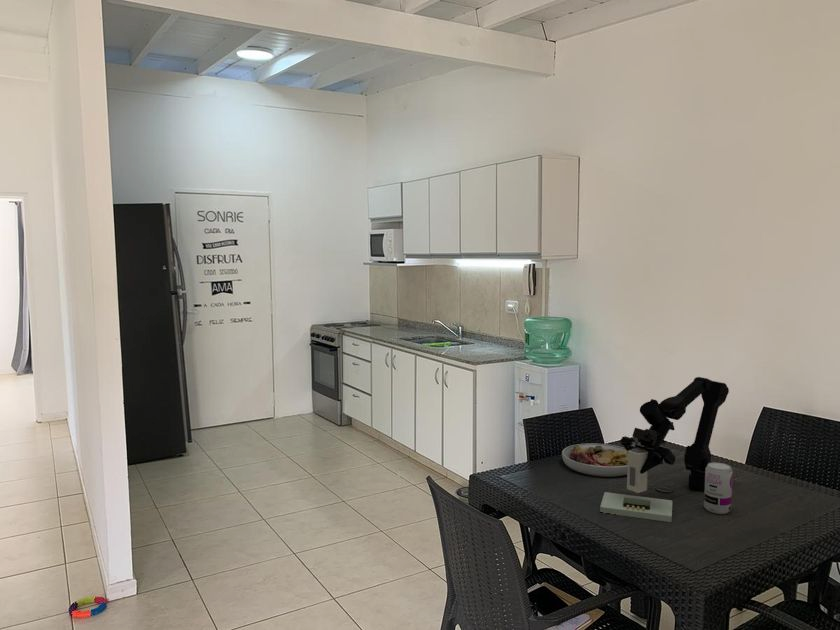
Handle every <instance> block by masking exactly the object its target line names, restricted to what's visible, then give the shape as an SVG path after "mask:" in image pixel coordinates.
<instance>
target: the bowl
mask: <svg viewBox="0 0 840 630" xmlns="http://www.w3.org/2000/svg"><path fill="white" fill-rule="evenodd" d="M561 457H562V460H563V463H564V464H565V465H566V466H567V467H568V468H569V469H571V470H573V471H575V472H577V473H581V474H584V475H587V476H592V477H593V476H594V477H603V478H604V477H605V478H612V477H613V478H615V477H623V476H627V469H628V451H627V450H626V449H625V448H624V447H623V446H619V445H614V444H607V443H593V442H591V443H579V444H572V445H569V446H567V447H565V448H564V449H563V450H562V451H561Z"/></svg>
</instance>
